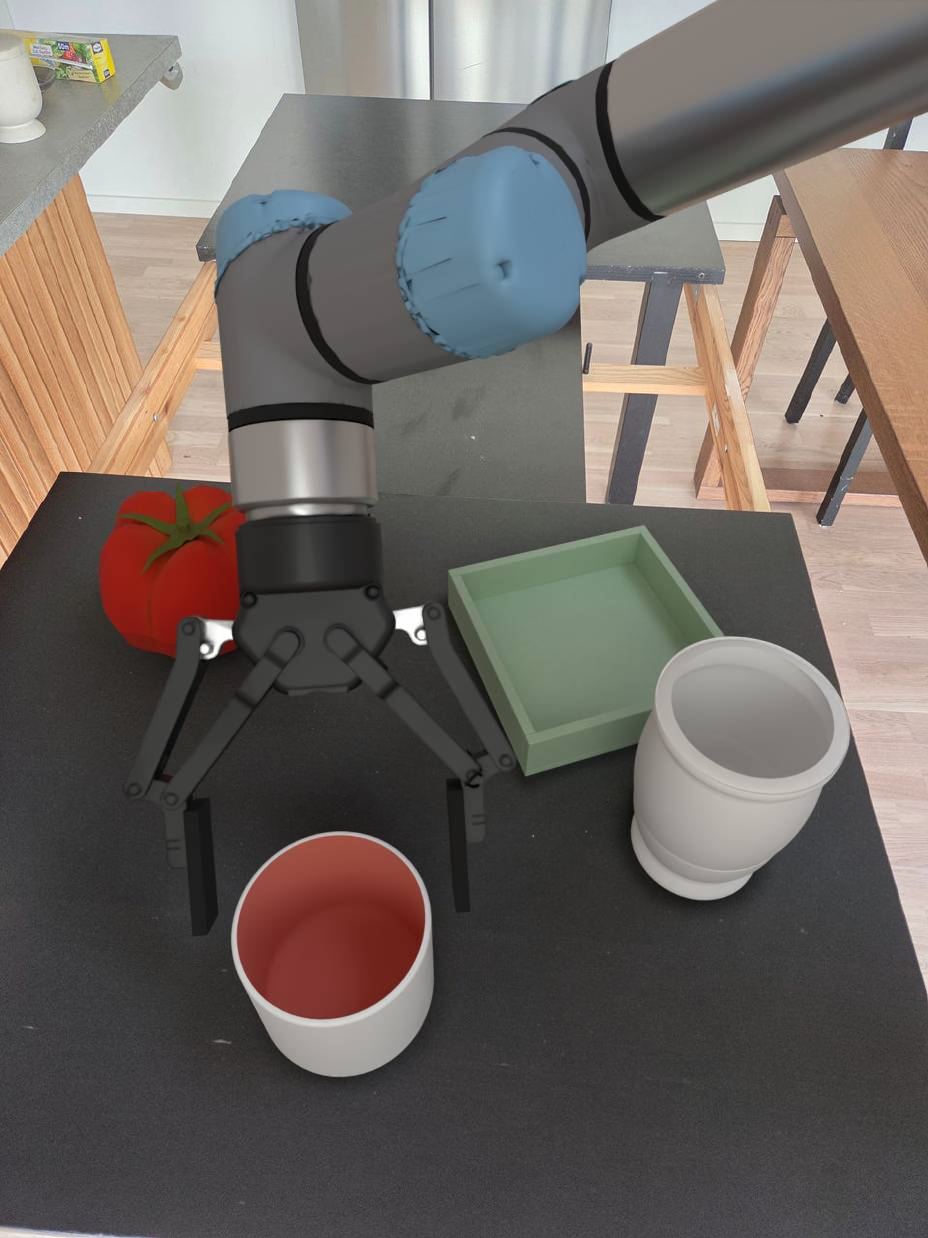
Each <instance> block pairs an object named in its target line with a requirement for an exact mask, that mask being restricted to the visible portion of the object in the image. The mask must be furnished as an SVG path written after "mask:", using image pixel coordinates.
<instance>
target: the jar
mask: <svg viewBox="0 0 928 1238" xmlns="http://www.w3.org/2000/svg"><path fill="white" fill-rule="evenodd" d="M849 719H850V718H849V715H848V712H847V708H846V706H845V704H844V702H843V700H842V698H841V696H840V695H839V692H838V691H837V689H836V688H835V686H833V684H832V683H831V682H830V681H829V679H828V678H827V677H826V676H825V675H824V674H823V673H822V672H821V671H820V670H819V669H818V668H816V666H814V665H813V664H812V663H810V661H807V660H806V659H804V658H803V657H801V656H800V655H798V654H797V653H795V652H793V651H791V650H789V649H787V648H785V647H782V646H780V645H777V644H775V643H772V642H769V641H766V640H762V639H757V638H753V637H744V636H725V637H717V638H711V639H707V640H703V641H700V642H697V643H695V644H692V645H690V646H688V647H686V648H685V649H683V650H681V651H680V652H679V653H677V654H676V655H675V656H674V657H673V658H672V659H671V660H670V661H669V662H668V663H667V665H666V666H665V667H664V669H663V671H662V673H661V675H660V677H659V679H658V682H657V685H656V688H655V692H654V697H653V710H652V712H651V714H650V716H649V718H648V720H647V722H646V724H645V726H644V729H643V731H642V734H641V737H640V740H639V743H637V747H636V753H635V758H634V767H633V810H634V812H633V813H634V814H633V815H632V819H631V824H630V825H631V826H630V839H631V844H632V848H633V851H634V854H635V856H636V859H637V860H638V862H639V864H640V866H641V867H642V869H643V870H644V871H645V872H646V874H647V875H648V876H649V877H650V878H651V879H652V880H653V881H655V883H657V884H658V885H659V886H660V887H662V888H664V889H665V890H667V891H669V892H671V893H672V894H675V895H677V896H679V897H683V898H686V899H690V900H695V901H714V900H720V899H723V898H726V897H728V896H731V895H733V894H735V893H736V892H737V891H739V890H741V888H743V887H744V886H745V885H746V884H747V883H748V882H749V880H750V878H751V877H752V876H753V873H754V872H756V871H758V870H759V869H761V868H762V867H763V866H764V865H766V864H767V863H768V862H769V861H770V860H771V859H772V858H774V856H775V855H777V854H778V853H779V852H780V851H782V850H783V849H784V848H785V847H786V846H787V845H788V844H789V843H791V841H792V840H794V838H795V837H796V836H797V835H798V834H799V833H800V831H801V830H802V828H804V826H805V824H806V823H807V822H808V820H809V818H810V817H811V815H812V813H813V811H814V809H815V807H816V805H817V803H818V800H819V798H820V796H821V793H822V790H823V787H824V786H825V785H826V784H827V783H828V782H830V780H831V779H832V778H833V777H834V776H835V774H836V773H837V772H838V770H839V768H840V767H841V765H842V764H843V761H844V759H845V757H846V755H847V753H848V750H849V746H850V740H851V727H850V726H851V725H850V720H849Z"/></svg>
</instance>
